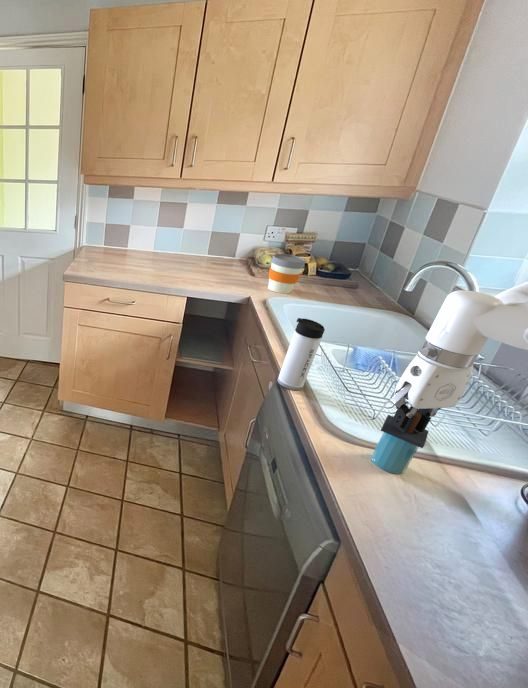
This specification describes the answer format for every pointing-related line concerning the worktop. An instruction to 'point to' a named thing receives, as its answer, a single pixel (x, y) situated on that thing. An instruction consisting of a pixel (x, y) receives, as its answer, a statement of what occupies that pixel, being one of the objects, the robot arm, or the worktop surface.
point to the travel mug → (300, 354)
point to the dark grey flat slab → (411, 435)
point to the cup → (393, 454)
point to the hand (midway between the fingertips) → (406, 427)
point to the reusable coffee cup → (284, 272)
